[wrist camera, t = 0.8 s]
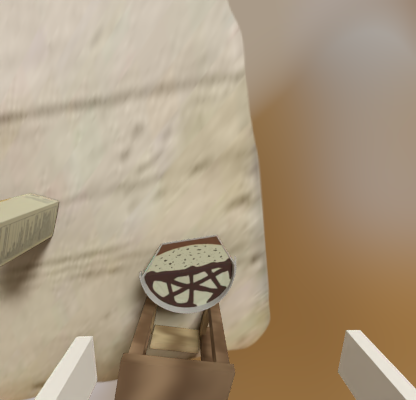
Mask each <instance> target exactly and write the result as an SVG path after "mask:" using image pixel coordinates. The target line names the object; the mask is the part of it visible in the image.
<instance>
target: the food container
mask: <svg viewBox="0 0 416 400" xmlns="http://www.w3.org/2000/svg"><path fill="white" fill-rule="evenodd" d="M235 273H236V256H235V261H233V260H232V258H231V256H230V255H229V253H228V251H227V250H226V248H225V247H224V245H223V243H222V242H221V240H220V238H219V237H218V235H213V236H206V237H200V238H194V239H187V240H181V241H175V242H168V243H162V244H161V245H160V247H159V248H158V250H157V252H156V253H155V255H154V257H153V258H152V260H151V262H150V264H149V265H148V267H147V269H146V270H145V272H144V274H143V275H142V272H141V271H140V275H139V278H140V282H141V285H142V287H143V289H144V291H145V293H146V294H147V295H148V297H149V298H150V299H151V300H152V301H153V302H154V303H156V304H157V305H159V306H160V307H162V308H164V309H166V310H169V311H172V312H177V313H196V312H200V311H203V310H206V309H208V308H210V307H212V306H214V305H215V304H217V303H218V302H219V301H220V300H221V299H222V298H223V297H224V296H225V295H226V294H227V292H228V291H229V289H230V287H231V285H232V283H233V280H234V277H235Z"/></svg>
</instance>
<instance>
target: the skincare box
mask: <svg viewBox="0 0 416 400" xmlns="http://www.w3.org/2000/svg"><path fill="white" fill-rule="evenodd" d="M58 203H59V202H58V201H56V200H53V199H49V198H46V197H43V196H39V195H35V194H31V193H30V194H26V195H21V196H17V197H13V198H9V199H5V200H1V201H0V267H1V266H3V265H4V264H6V263H8V262H9V261H11V260H13V259H14V258H16V257H18V256H20V255H21V254H23V253H25V252H26V251H28V250H30V249H31V248H33V247H35V246H36V245H38V244H40V243H42V242H43V241H45V240H47V239H48V238H50V237H52V235H53V231H54V226H55V221H56V216H57V210H58Z"/></svg>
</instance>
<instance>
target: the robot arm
mask: <svg viewBox="0 0 416 400" xmlns="http://www.w3.org/2000/svg"><path fill="white" fill-rule="evenodd" d="M338 373H339V374H340V376H341V377H342V379H343V380H344V382H345V383H346V385H347V386H348V388H349V389H350V391H351V392H352V394H353V395H354V397H355V398H356V400H416V389H415V388H414V387H413V386H412V385H411V383H410V382H409V381H408V380H407V379H406V378H405V377H404V376H403V375H402V374H401V373H400V372H399V371H398V370H397V369H396V368H395V367H394V366H393V364H391V363H390V361H389V360H388V359H387V358H386V357H385V356H384V355H383V354H382V353H381V352H380V351H379V350H378V349H377V348H376V347H375V346H374V344H373V343H372V342H371V341H370V340H369V339H368V338H367V337H366V336H365V335H364V334H363V333H362V332H361V331H360V330H346V334H345V339H344V344H343V349H342V354H341V359H340V364H339V369H338ZM96 382H97V372H96V363H95V353H94V343H93V336H79V337H76V338H75V340H74V341H73V343H72V344H71V346H70V347H69V349H68V350H67V352H66V353H65V355H64V356H63V358H62V359H61V361H60V362H59V364H58V365H57V367H56V368H55V370H54V371H53V373H52V374H51V376H50V377H49V379H48V380H47V382H46V383H45V385H44V386H43V388H42V389H41V391H40V392H39V394H38V395H37V397H36V398H35V400H89V398H90V396H91V394H92V391H93V389H94V387H95V385H96Z"/></svg>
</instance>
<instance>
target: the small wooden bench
mask: <svg viewBox="0 0 416 400" xmlns="http://www.w3.org/2000/svg"><path fill="white" fill-rule="evenodd" d="M156 310H157V304H156V303H154V302H153V301H152V300H151V299H150V298H149V297H148V295H147V298H146V301H145V304H144V307H143V310H142V313H141V316H140V319H139V322H138V325H137V328H136V331H135V334H134V337H133V340H132V343H131V346H130V349H129V352H128V353H124V354H123V356H122V359H121V362H120V369H119V375H118V381H117V388H116V394H115V400H227V399H228V396H229V393H230V389H231V386H232V382H233V379H234V375H235V369H234V364H230V363H229V358H228V352H227V347H226V341H225V335H224V330H223V324H222V318H221V313H220V307H219V302H218V303H217V304H215V305H214V306H212V307H210V308H208V309H206V310H204V314H203V318H202V322H201V326H200V331H199V330H193V329H185V328H177V327H169V326H160V325H155V327H154V331H153V335H152V340H151V345H150V348H152V349H161V350H171V351H180V352H189V353H198V350H199V335H200V349H201V361H197V360H188V359H178V358H168V357H159V356H149V355H146V351H147V347H148V343H149V338H150V334H152V330H153V326H154V321H155V316H156ZM208 323H209V327H208Z"/></svg>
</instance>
